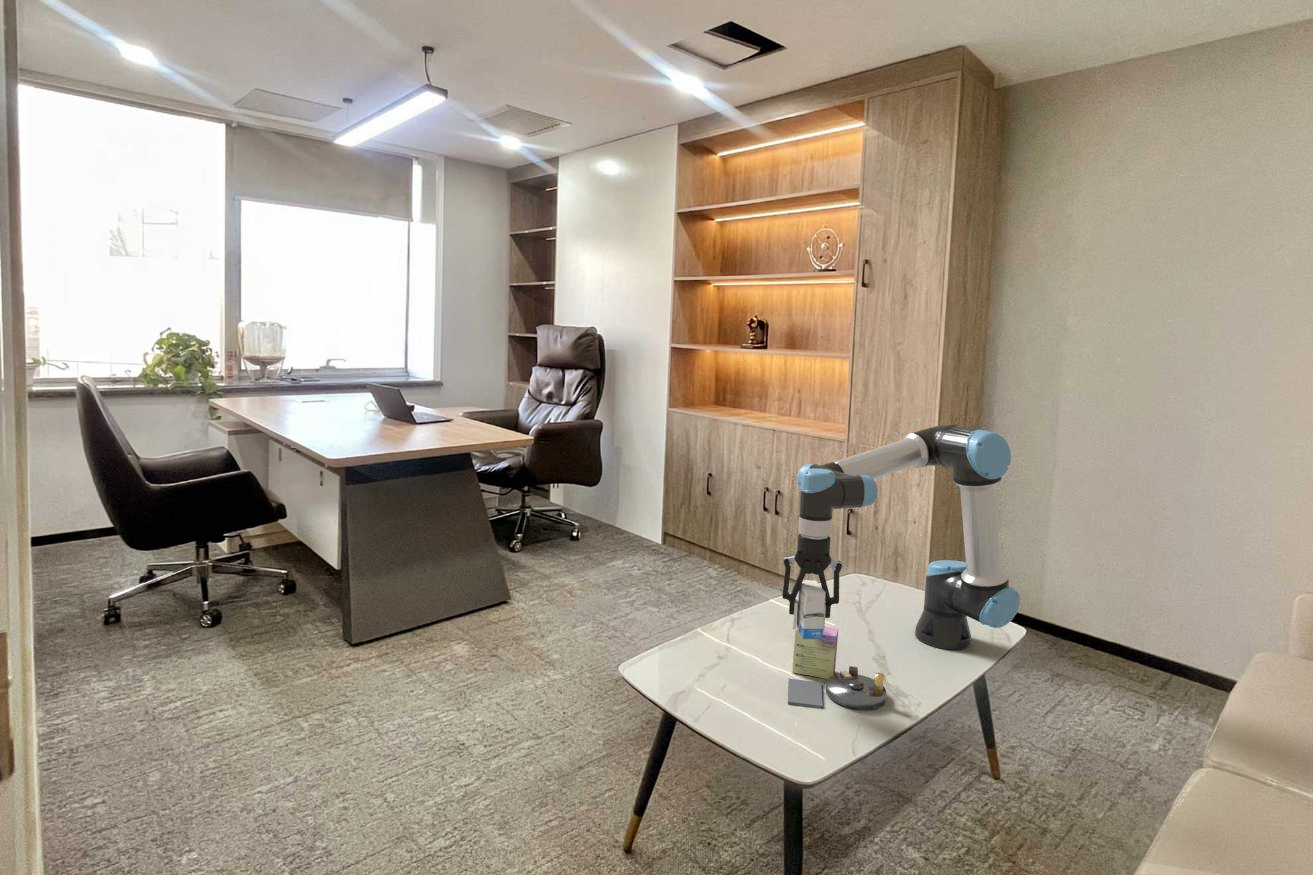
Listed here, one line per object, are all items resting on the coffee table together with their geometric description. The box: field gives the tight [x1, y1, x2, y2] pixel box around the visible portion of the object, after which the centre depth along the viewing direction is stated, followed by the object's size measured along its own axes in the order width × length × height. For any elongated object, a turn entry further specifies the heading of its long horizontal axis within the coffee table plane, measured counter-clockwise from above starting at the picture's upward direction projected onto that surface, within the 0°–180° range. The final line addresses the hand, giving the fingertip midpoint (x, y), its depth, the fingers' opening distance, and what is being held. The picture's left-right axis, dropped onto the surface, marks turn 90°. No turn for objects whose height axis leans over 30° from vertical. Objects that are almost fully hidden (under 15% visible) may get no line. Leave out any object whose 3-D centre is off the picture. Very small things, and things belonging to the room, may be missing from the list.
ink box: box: [796, 579, 826, 639], centre depth 175 cm, size 9×5×12 cm, turn 3°
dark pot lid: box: [825, 670, 887, 710], centre depth 178 cm, size 14×14×7 cm
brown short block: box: [848, 665, 859, 675], centre depth 186 cm, size 2×2×3 cm
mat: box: [787, 678, 824, 709], centre depth 178 cm, size 8×12×1 cm, turn 169°
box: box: [791, 626, 839, 680], centre depth 189 cm, size 10×6×12 cm, turn 71°
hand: (808, 628), depth 176 cm, fingers closed on ink box, 6 cm apart
